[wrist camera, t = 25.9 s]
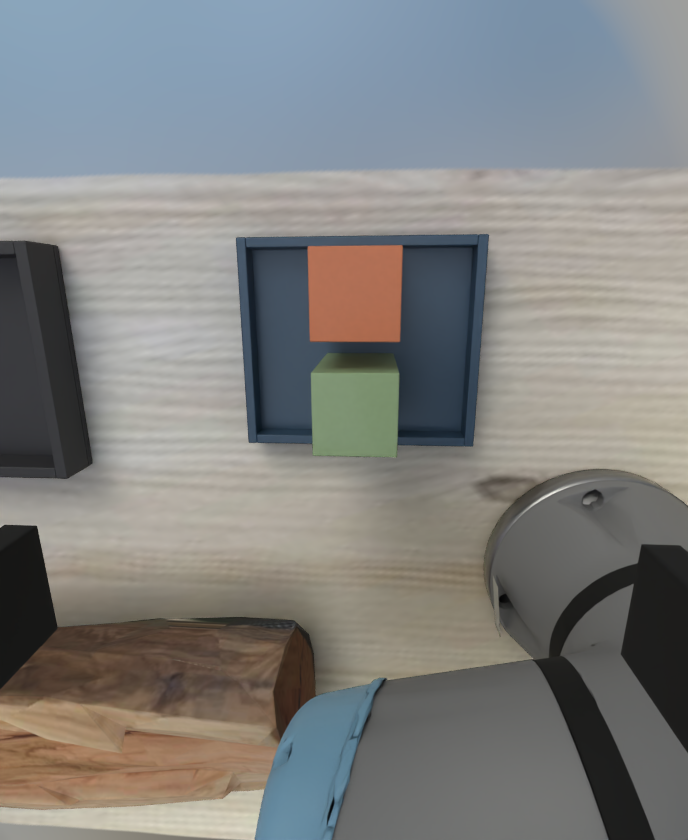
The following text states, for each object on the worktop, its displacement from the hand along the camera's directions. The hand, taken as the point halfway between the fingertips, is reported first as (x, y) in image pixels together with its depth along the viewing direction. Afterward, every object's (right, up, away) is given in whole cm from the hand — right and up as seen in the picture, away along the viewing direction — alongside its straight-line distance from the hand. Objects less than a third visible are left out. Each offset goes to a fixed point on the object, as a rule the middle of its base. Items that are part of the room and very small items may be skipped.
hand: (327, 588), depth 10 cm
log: (-22, -17, +30) cm, 41 cm away
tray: (+1, +9, +21) cm, 23 cm away
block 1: (+1, +12, +20) cm, 23 cm away
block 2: (+1, +6, +21) cm, 22 cm away
